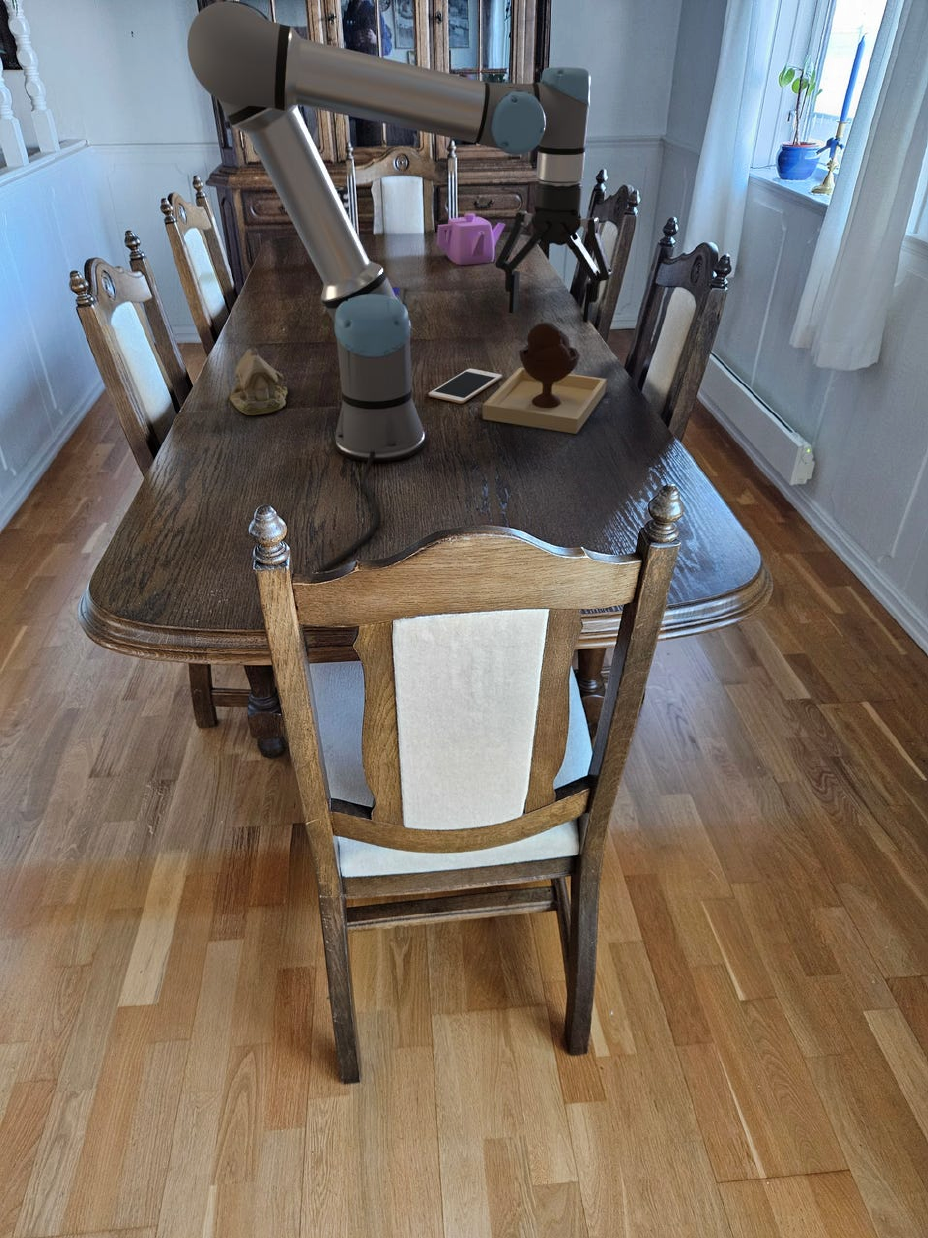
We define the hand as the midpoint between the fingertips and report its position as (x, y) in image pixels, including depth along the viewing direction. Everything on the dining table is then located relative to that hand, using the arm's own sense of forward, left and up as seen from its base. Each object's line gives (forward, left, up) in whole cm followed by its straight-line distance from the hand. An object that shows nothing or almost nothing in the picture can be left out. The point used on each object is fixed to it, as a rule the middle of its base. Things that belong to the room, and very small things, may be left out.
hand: (549, 315), depth 146 cm
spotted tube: (+80, +88, -17) cm, 120 cm away
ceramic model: (-18, +51, -17) cm, 57 cm away
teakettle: (+100, +54, -17) cm, 115 cm away
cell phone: (+3, +17, -17) cm, 24 cm away
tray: (0, 0, -17) cm, 17 cm away
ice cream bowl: (0, 0, -16) cm, 16 cm away
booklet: (+47, +60, -17) cm, 78 cm away
